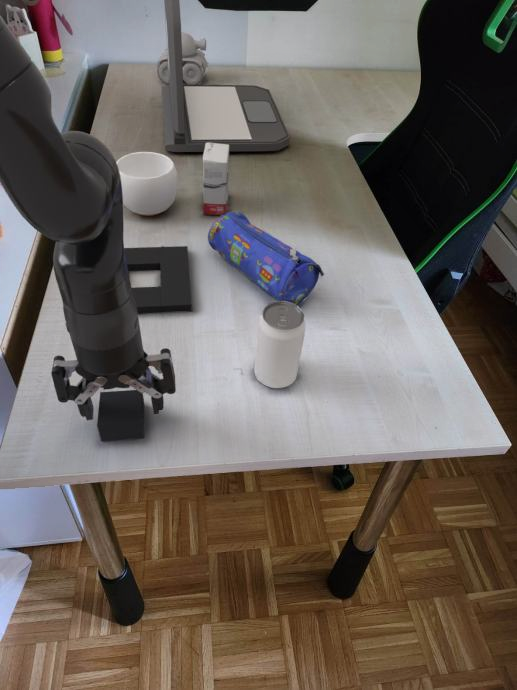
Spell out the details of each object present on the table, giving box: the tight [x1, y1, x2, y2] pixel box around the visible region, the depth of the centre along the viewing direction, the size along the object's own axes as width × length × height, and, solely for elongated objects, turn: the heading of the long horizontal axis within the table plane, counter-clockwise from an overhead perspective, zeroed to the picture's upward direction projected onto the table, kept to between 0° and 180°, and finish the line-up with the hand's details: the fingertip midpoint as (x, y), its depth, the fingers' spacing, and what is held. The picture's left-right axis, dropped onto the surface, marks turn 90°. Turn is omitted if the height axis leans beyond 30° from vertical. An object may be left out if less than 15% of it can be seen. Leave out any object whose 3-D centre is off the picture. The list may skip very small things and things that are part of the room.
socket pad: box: [124, 245, 193, 315], centre depth 90 cm, size 16×16×2 cm
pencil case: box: [207, 211, 325, 307], centre depth 90 cm, size 22×9×10 cm, turn 42°
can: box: [253, 300, 307, 389], centre depth 73 cm, size 6×6×12 cm
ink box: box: [202, 143, 230, 216], centre depth 105 cm, size 9×5×12 cm, turn 179°
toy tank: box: [156, 31, 209, 85], centre depth 154 cm, size 15×11×13 cm
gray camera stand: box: [161, 0, 291, 153], centre depth 128 cm, size 38×31×32 cm
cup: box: [116, 151, 178, 217], centre depth 104 cm, size 12×12×10 cm
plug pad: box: [96, 389, 146, 442], centre depth 68 cm, size 6×6×4 cm
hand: (123, 411), depth 68 cm, fingers open, 8 cm apart
